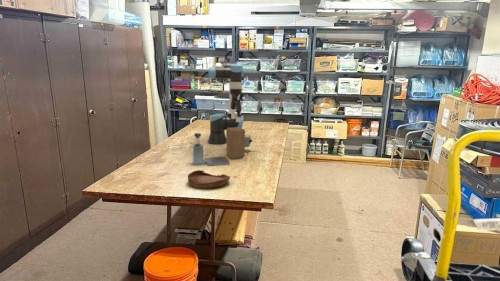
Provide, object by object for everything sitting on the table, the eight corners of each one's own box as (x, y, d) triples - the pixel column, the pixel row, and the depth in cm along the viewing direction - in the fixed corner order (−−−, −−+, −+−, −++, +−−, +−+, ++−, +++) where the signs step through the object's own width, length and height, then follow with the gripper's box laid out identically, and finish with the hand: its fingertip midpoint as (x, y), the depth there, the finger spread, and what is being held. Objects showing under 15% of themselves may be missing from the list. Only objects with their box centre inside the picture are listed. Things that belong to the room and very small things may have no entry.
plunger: (194, 147, 216) (194, 133, 214) (200, 147, 217) (200, 132, 215) (195, 149, 212) (194, 134, 210) (201, 148, 213) (201, 134, 211)
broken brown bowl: (231, 178, 191) (231, 169, 190) (228, 191, 171) (228, 181, 170) (192, 177, 192) (191, 168, 191) (184, 189, 172) (183, 180, 171)
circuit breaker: (250, 152, 246) (250, 132, 243) (231, 151, 249) (231, 131, 246) (252, 150, 253) (252, 130, 250) (234, 148, 256) (234, 129, 253)
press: (192, 160, 223) (191, 143, 220) (224, 158, 229) (224, 141, 226) (194, 166, 210) (194, 148, 207) (229, 164, 215) (229, 146, 213)
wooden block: (231, 159, 227) (231, 130, 223) (225, 156, 236) (225, 127, 231) (245, 157, 232) (245, 129, 227) (238, 154, 240) (239, 126, 236)
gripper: (226, 87, 234) (226, 117, 238) (234, 89, 211) (234, 123, 215) (237, 87, 236) (236, 117, 240) (246, 89, 213) (245, 123, 217)
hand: (235, 120), depth 228 cm, fingers open, 13 cm apart
